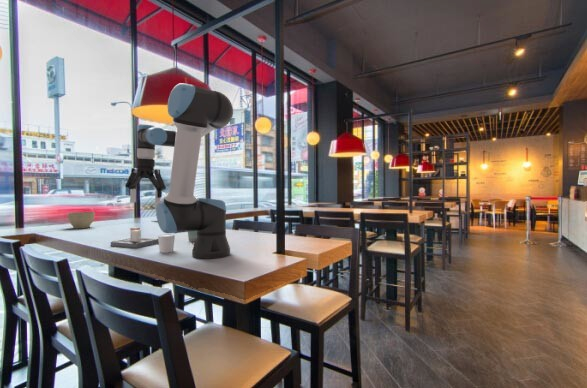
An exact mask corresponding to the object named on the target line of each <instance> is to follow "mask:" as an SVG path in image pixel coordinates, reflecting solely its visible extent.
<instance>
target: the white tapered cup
mask: <svg viewBox="0 0 587 388" xmlns="http://www.w3.org/2000/svg"><path fill="white" fill-rule="evenodd" d="M175 237H176V235H175V234H172V233H166V234H160V235H157V239H158V241H159V243H158V247H159V248H158V249H159V253H162V254H163V253H165V254H166V253H173V252H174V250H175V249H174V248H175Z"/></svg>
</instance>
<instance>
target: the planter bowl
mask: <svg viewBox="0 0 587 388" xmlns="http://www.w3.org/2000/svg"><path fill="white" fill-rule="evenodd" d="M95 214H96V212H95V211H78V212H67V213H66V216H67V220H68V222H69V224H70V226H72V227H73V229H85V228H86V229H88V228H90V227H91V225H92V223H93V222H94V220H95Z"/></svg>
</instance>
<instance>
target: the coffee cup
mask: <svg viewBox="0 0 587 388" xmlns="http://www.w3.org/2000/svg"><path fill="white" fill-rule="evenodd" d="M187 237H188V242H190V243H195V240H196V237H197V231H190V232H187Z"/></svg>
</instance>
